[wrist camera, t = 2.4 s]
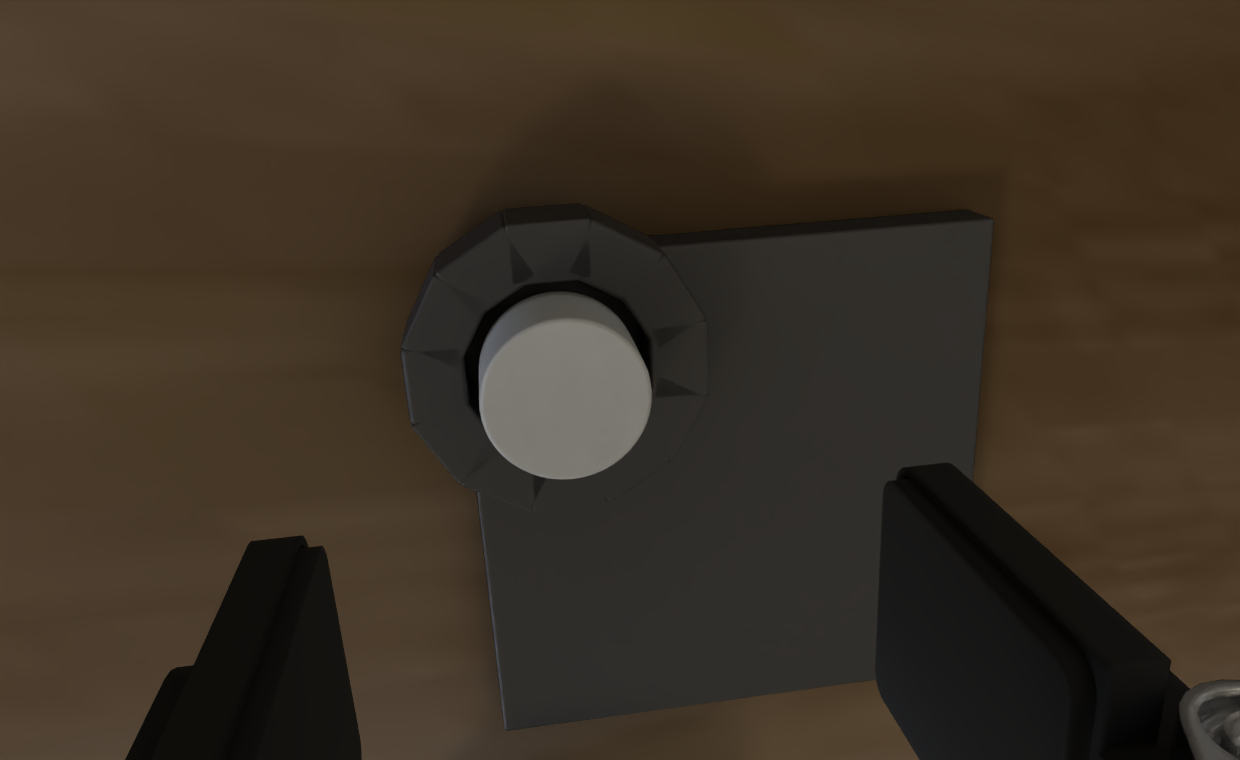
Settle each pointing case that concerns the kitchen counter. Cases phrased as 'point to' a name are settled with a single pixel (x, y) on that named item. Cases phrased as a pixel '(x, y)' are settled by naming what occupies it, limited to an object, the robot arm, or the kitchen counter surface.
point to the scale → (707, 447)
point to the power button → (562, 386)
